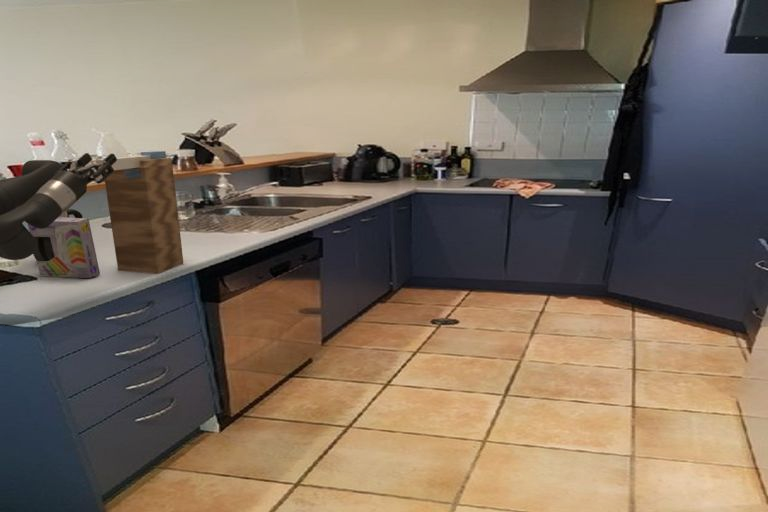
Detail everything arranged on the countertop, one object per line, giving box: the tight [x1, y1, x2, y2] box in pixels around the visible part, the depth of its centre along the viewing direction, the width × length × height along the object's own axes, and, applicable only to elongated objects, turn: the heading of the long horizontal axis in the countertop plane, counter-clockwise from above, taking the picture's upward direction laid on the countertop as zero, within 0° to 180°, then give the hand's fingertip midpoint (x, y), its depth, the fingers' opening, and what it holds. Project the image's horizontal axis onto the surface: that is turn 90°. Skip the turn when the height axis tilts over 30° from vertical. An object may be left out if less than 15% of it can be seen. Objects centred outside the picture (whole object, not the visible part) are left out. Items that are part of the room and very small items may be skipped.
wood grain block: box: [104, 157, 184, 275], centre depth 157 cm, size 13×15×34 cm
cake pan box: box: [27, 217, 101, 279], centre depth 151 cm, size 19×5×18 cm, turn 77°
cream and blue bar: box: [95, 150, 168, 170], centre depth 147 cm, size 24×4×4 cm, turn 163°
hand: (101, 156), depth 136 cm, fingers open, 8 cm apart
